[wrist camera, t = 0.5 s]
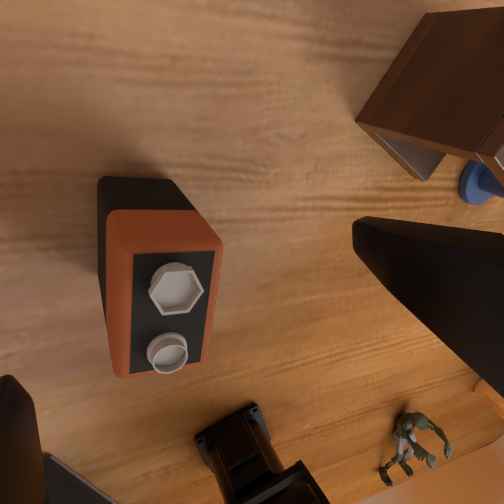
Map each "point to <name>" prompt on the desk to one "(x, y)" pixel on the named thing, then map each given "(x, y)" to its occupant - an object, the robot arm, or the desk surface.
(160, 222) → the battery
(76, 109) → the desk surface
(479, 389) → the milkshake
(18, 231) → the desk surface
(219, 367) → the desk surface
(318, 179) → the desk surface
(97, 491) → the portable cd player
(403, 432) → the zombie figurine
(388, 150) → the brown slotted stand
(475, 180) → the peg
